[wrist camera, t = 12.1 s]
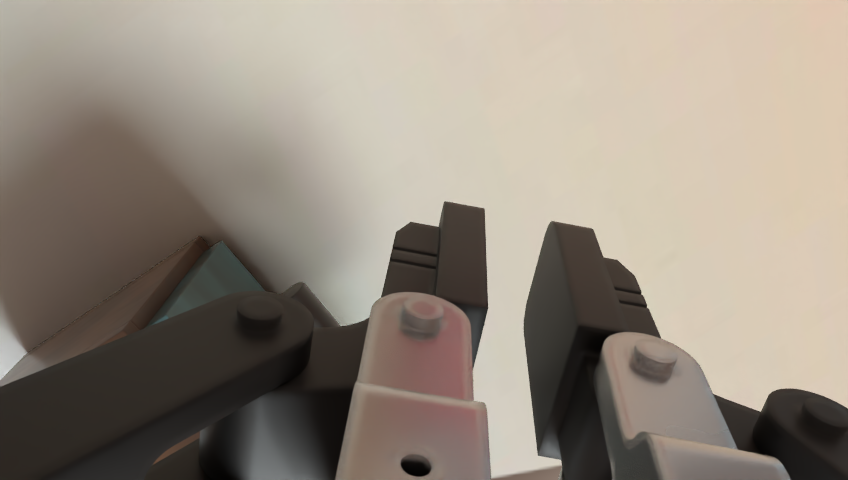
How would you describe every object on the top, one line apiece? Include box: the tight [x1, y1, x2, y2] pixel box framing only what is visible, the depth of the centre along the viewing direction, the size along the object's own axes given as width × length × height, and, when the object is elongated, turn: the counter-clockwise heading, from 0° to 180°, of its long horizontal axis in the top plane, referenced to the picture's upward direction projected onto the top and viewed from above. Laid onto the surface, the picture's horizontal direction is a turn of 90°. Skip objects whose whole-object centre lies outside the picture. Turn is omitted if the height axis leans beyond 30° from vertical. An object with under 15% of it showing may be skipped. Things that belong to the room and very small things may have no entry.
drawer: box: [145, 241, 341, 328], centre depth 33 cm, size 15×11×7 cm
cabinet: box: [0, 236, 210, 465], centre depth 35 cm, size 12×12×8 cm
